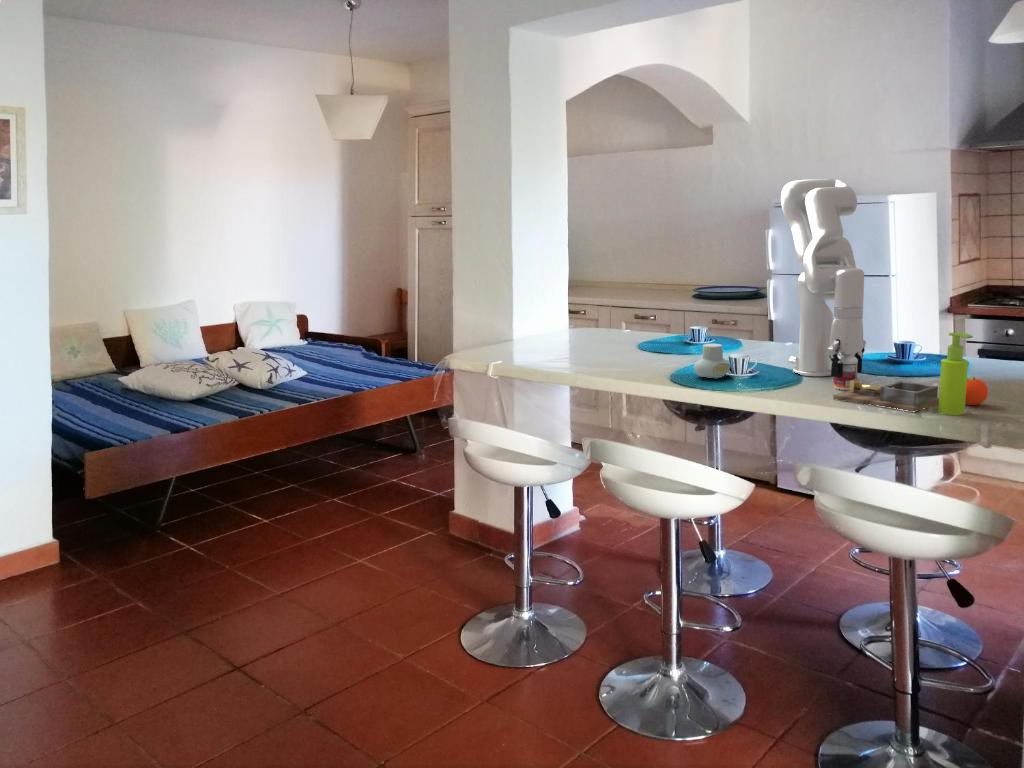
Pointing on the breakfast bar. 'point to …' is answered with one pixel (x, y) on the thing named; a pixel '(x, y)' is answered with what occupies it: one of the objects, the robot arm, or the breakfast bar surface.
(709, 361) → the air freshener
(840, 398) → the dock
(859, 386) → the lock pin
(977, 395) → the clementine
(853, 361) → the pill bottle
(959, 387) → the soap dispenser
